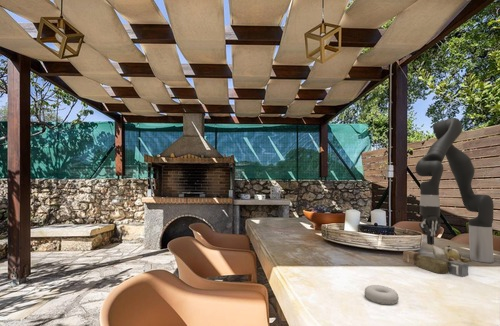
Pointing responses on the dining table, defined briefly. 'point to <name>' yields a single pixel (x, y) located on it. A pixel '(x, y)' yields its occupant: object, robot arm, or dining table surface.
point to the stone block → (432, 264)
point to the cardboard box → (410, 257)
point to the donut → (381, 294)
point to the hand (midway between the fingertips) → (430, 244)
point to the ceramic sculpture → (448, 254)
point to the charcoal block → (458, 268)
